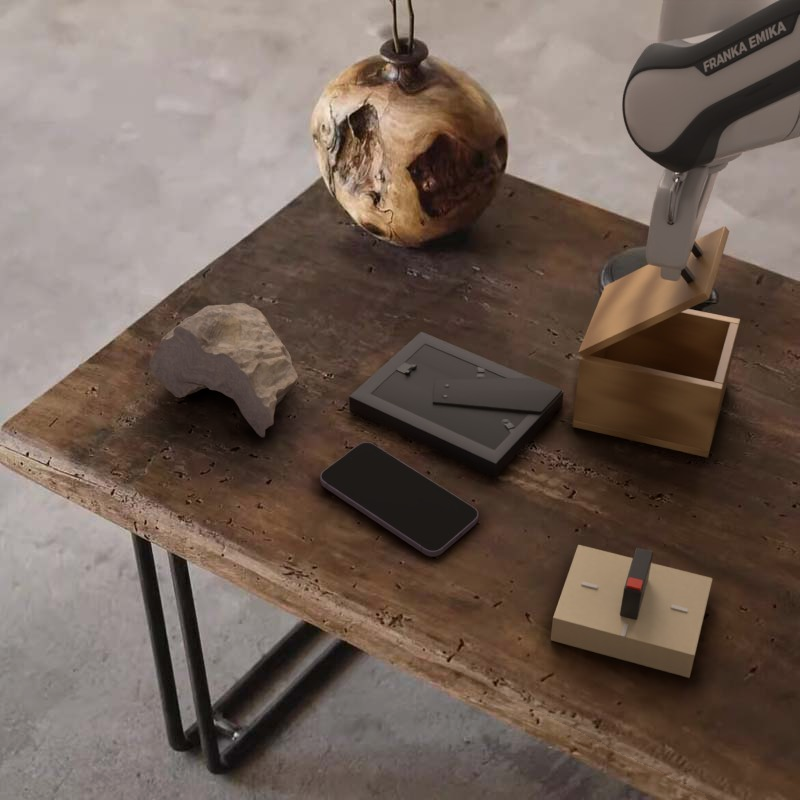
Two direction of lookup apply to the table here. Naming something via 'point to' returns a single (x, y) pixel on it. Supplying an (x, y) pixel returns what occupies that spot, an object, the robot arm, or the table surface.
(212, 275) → the table surface
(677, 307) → the chest lid
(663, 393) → the chest
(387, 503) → the smartphone
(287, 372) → the rock
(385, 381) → the picture frame
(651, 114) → the robot arm
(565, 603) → the plate
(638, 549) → the black red-tipped block
